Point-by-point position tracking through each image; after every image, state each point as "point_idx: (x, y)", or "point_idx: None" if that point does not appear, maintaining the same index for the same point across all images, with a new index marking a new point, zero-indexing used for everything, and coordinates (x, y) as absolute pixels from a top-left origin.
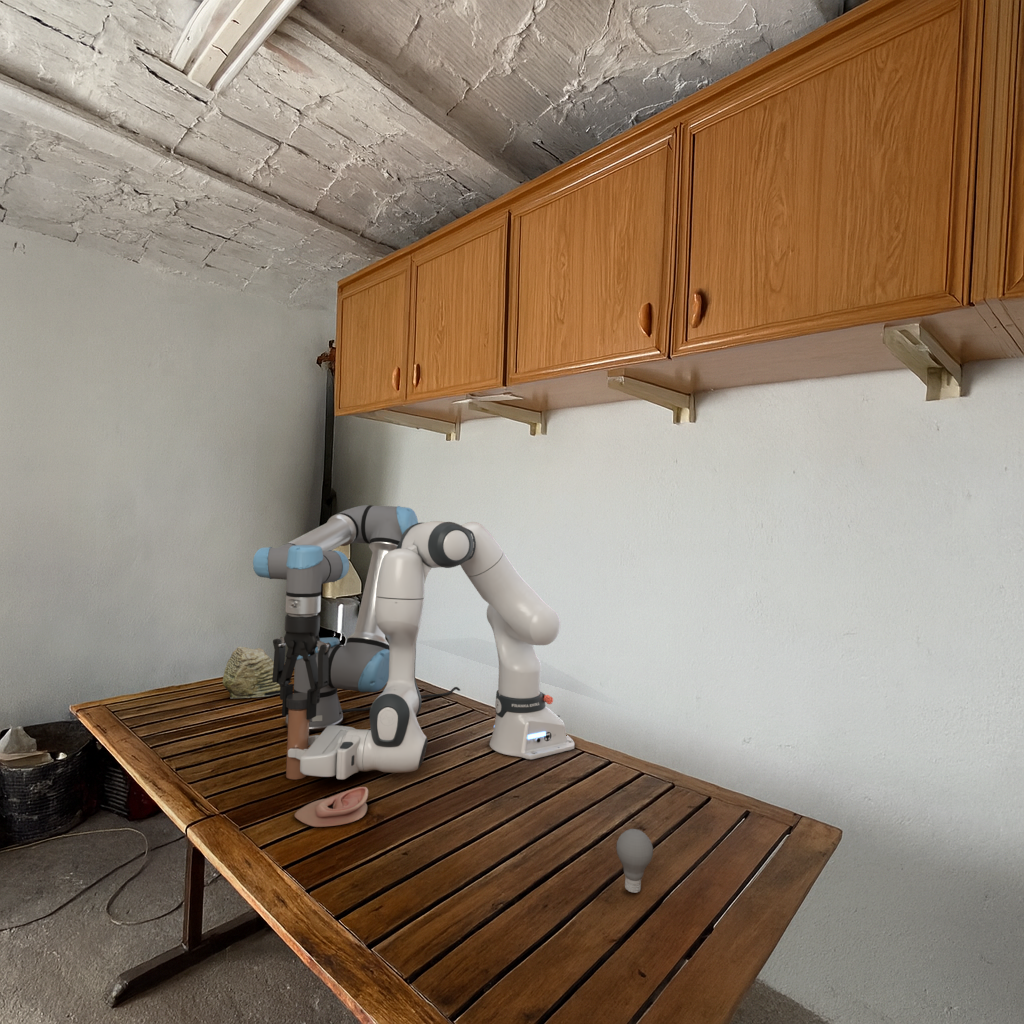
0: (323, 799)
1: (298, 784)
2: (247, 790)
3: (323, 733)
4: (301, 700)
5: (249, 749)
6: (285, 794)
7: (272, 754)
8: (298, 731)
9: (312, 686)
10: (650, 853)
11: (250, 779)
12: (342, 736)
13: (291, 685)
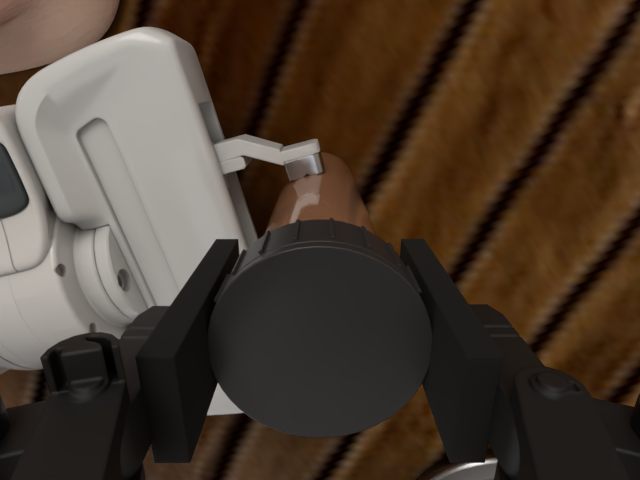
0: (70, 1)
1: (271, 127)
2: (410, 16)
3: None
4: (239, 273)
5: (580, 297)
6: (264, 40)
7: (485, 291)
8: (288, 202)
9: (88, 402)
10: None
11: (450, 100)
12: (102, 278)
13: (451, 438)
